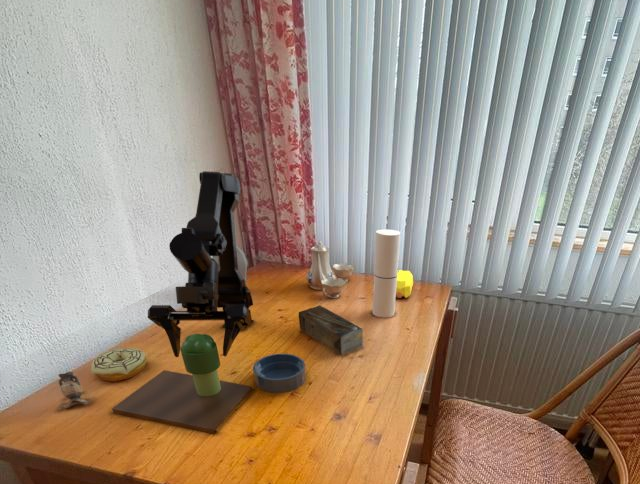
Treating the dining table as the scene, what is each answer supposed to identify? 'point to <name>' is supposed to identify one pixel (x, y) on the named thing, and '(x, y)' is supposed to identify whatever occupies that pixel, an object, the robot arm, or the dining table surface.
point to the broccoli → (202, 363)
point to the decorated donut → (118, 364)
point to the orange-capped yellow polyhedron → (404, 284)
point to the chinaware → (327, 272)
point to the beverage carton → (331, 329)
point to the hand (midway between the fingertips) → (200, 356)
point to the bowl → (279, 373)
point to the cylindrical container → (385, 272)
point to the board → (182, 402)
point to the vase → (71, 389)
